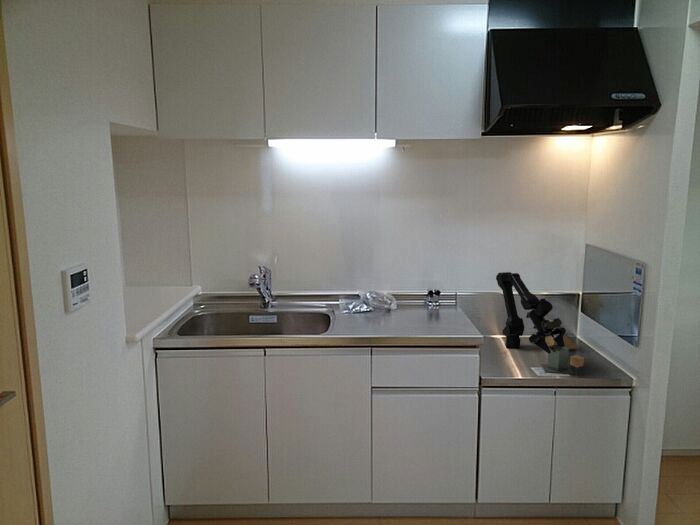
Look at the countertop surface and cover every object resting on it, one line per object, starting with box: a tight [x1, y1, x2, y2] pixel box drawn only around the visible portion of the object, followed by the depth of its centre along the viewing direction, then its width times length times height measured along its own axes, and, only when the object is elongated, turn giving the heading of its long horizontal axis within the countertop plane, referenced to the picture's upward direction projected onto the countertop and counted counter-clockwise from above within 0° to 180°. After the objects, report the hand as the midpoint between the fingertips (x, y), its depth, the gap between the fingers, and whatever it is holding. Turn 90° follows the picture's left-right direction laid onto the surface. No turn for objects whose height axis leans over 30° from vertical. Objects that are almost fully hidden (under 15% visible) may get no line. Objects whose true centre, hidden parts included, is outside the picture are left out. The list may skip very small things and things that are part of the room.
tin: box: [546, 344, 570, 372], centre depth 221 cm, size 6×6×10 cm
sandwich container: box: [544, 317, 580, 350], centre depth 250 cm, size 9×15×15 cm, turn 104°
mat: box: [540, 363, 575, 375], centre depth 222 cm, size 12×9×1 cm
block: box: [569, 354, 585, 368], centre depth 227 cm, size 4×4×4 cm
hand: (557, 351), depth 221 cm, fingers open, 9 cm apart
